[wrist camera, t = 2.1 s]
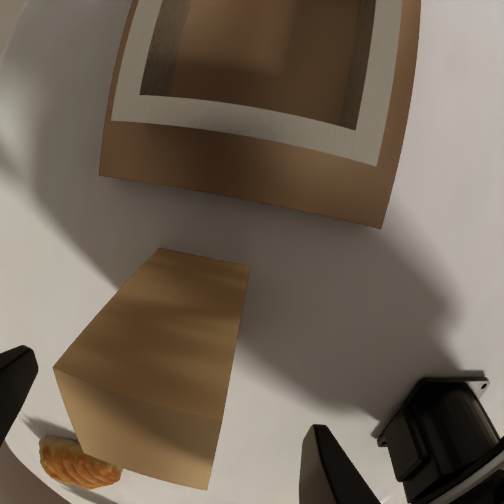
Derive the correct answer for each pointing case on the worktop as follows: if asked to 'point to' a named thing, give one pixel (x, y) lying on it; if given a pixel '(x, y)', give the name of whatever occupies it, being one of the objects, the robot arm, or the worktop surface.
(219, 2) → the plate
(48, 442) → the pastry
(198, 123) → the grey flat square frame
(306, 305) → the worktop surface
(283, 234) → the worktop surface
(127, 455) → the rail post
